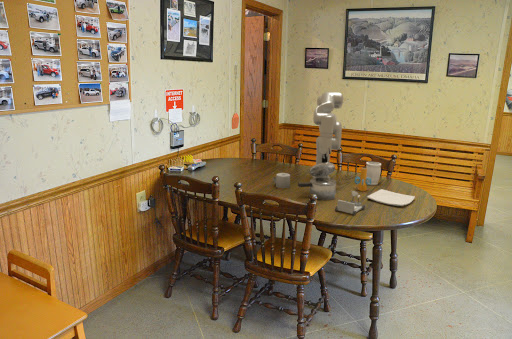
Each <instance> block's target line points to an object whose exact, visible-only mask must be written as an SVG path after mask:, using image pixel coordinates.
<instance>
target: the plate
mask: <svg viewBox="0 0 512 339" xmlns="http://www.w3.org/2000/svg"><path fill="white" fill-rule="evenodd" d="M366 197H367V198H368V199H369V200H372V201H375V202H377V203H381V204H383V205H388V206H395V207H404V206H407V205H410V204H411V203H412V202H413V201H414V199H416V196H415V195H410V194H408V195H407V194H404V193H397V192H393V191H390V190H386V189H383V188H381V189H378V190H376V191H374V192H372V193H371V194H369V195H367V196H366Z"/></svg>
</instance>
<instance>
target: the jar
mask: <svg viewBox="0 0 512 339" xmlns="http://www.w3.org/2000/svg"><path fill="white" fill-rule="evenodd" d="M365 164H366V166H365V168H367V177H366V178H368V177H370V178H371V184H370V183H368V184H370V185H369V186H377V185H378V184H379V183H378V182H379V180H380V176H381V174H382V173H381V172H382V171H381V170H382V169H381V166H382V163H381V162H378V161H366V163H365ZM368 179H369V178H368ZM369 181H370V180H367V182H369Z"/></svg>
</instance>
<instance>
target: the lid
mask: <svg viewBox="0 0 512 339" xmlns="http://www.w3.org/2000/svg"><path fill="white" fill-rule="evenodd" d="M334 171H336V166H335V164H334V163H332V162H330V161H329V162H323V163H319V164H316V163H315V164H314V165H312V166H311V167H310V169H309V174H310V175H311V177H313V176H314V177H323V176H327V175H328V176H330V175H331V174H333V173H334Z"/></svg>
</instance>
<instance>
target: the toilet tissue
mask: <svg viewBox="0 0 512 339" xmlns="http://www.w3.org/2000/svg"><path fill="white" fill-rule="evenodd" d="M272 180H273V182H274V184H275V187H276V188H277V187H278V188H277V189H279V188H288V189H290V185H291V184H290V183H291V174H289V173H287V172H286V173H285V172H279V173H276V175H275V176H274V177H272Z"/></svg>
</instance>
